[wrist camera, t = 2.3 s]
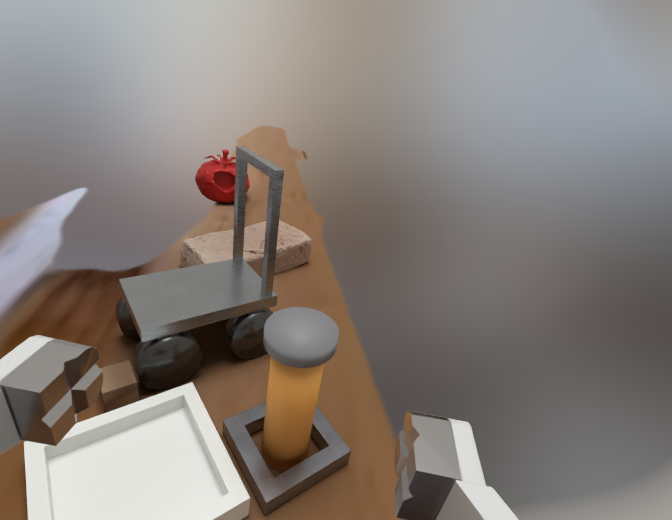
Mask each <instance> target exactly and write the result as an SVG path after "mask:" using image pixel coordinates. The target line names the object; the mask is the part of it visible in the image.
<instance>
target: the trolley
mask: <svg viewBox="0 0 672 520" xmlns="http://www.w3.org/2000/svg"><path fill="white" fill-rule="evenodd" d="M248 163H249V164H251V165H252V166H254V167H255V168H257V169H258V170H260V171H261V172H263V173H264V174H266V175H267V176H269V177H270V179H269V192H268V205H267V218H266V231H265V244H264V257H263V269H262V278H261V277H260V276H259V275H258V274H257V273H256V272H255V271H254V270H253V269H252V268H251V267H250V266H249V264H248V263H247V262H246V261H245V260H244V259H243V248H244V227H245V206H246V186H247V165H248ZM283 175H284V170H283V169H281V168H279V167H278V166H276V165H274V164H273V163H271V162H270V161H268V160H266V159H265V158H263V157H261V156H260V155H258V154H256V153H255V152H253V151H251V150H250V149H248V148H246V147H245V146H237V147H236V176H235V206H234V236H233V259H230V260H225V261H219V262H214V263H208V264H202V265H197V266H191V267H186V268H180V269H174V270H169V271H163V272H158V273H152V274H147V275H141V276H135V277H130V278H124V279H119V283H120V290H121V293H122V295H123V297H122V298H121V299H120V300H119V302H118V304H117V306H116V317H117V320H118V323H119V325H120V328H121V330H122V332H123V334H124V335H125V336H127V337H128V338H130V339H133V340H139V341H140V342H139V343H138V345H137V346H136V348H135V350H134V352H133V364H134V367H135V369H136V372H137V375H138V377H139V380H140V382H141V383H142V384H143V385H144V386H145V387H147V388H150V389H154V390H163V389H168V388H172V387H175V386H177V385H179V384H181V383H183V382H185V381H186V380H188V379H189V378H190V377H191V376H192V375H193V374H194V373H195V372H196V371H197V370H198V368H199V366H200V365H201V362H202V358H203V353H202V350H201V348H200V346H199V344H198V343H197V341H196V339H195V337H194V336H193V334H192V333H191V332H190V331H189V329H193V328H197V327H200V326H204V325H207V324H211V323H215V322H218V321H222V320H226V319H229V318H230V319H229V321H228V322H227V324H226V327H225V330H224V336H225V339H226V341H227V343H228V344H229V346H230V347H231V349H232V350H233V352H234V353H235V355H236V356H237V357H239V358H242V359H253V358H257V357H259V356H261V355H263V354H265V353H266V352H267V351H266V350H265V347H264V344H263V336H264V326H265V322H266V320H267V319H268V318H269V317H270V316H271V315H272V314H273V312H272V311H271V310H270V309H269V307H273V306H276V303H277V295H276V293H275V292H274V291H273V280H274V269H275V259H276V248H277V238H278V227H279V217H280V206H281V196H282V185H283Z"/></svg>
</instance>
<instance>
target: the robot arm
mask: <svg viewBox="0 0 672 520" xmlns="http://www.w3.org/2000/svg"><path fill="white" fill-rule="evenodd" d="M99 359H100V357H99V353H98V349H96V348H93V347H89V346H85V345H81V344H76V343H72V342H68V341H63V340H59V339H54V338H49V337H45V336H40V335H36V336H33V337H29V338H28V339H27V340H25V341H24V342H23V343H21V344H20V345H19V346H18V347H16V348H15V349H14V350H12V351H11V352H10V353H8V354H7V355H6V356H4V357H3V358H2V359H0V454H2V453H3V452H5V451H7V450H8V449H10V448H12V447H13V446H15V445H17V444H19V443H20V442H21V440H24V441H30V442H36V443H41V444H47V445H53V446H57V444H58V443H59V442H60V441H61V440H62V439H63V438H64V436H65V435H66V434H67V433H68V432H69V431H70V429H71V428H72V427H73V426H74V425H75V424H76V419H77V414H78V413H80V412H82V411H84V410H86V409H88V408H89V407H90V406H91V405H92V404H93V403H94V401H95V400H96V399H97V397H98V395H99V393H100V391H101V389H102V385H103V373H102V371H101V370H100V368H99V367H98V366H97V365H96V363H97V361H98V360H99ZM395 472H396V474H397V475H398V477H399V480H398V483H397V486H396V488H395V495H396V517H397V518H401V519H405V520H518V518H517V517H516V516H515V515H514V513H513V512H512V511H511V510H510V509H509V507H508V506H507V505H506V504H505V502H504V501H503V500H502V499H501V497H500V496H499V495H498V494H497V493H496V491H495V490H494V489H493V488H492V487H488V486H486V484H485V480H484V476H483V472H482V468H481V464H480V460H479V456H478V452H477V448H476V444H475V440H474V436H473V432H472V429H471V426H470V424H469V423H468V422H464V421H459V420H454V419H449V418H448V419H447V418H445V417H440V416H434V415H429V414H424V413H418V412H413V411H408V413H407V414H406V416H405V419H404V430H403V431H401V432H400V433H399V436H398V439H397V443H396V449H395Z"/></svg>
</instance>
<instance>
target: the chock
mask: <svg viewBox="0 0 672 520" xmlns="http://www.w3.org/2000/svg"><path fill="white" fill-rule="evenodd" d="M100 370H101V371H102V373H103V385H102V389H101V391H100V392H101V396H102V399H103V403H104V407H105V411H106V413H107V412H110V411H112V410H115V409H118V408H121V407H124V406H126V405H129V404H132V403H135V402H138V401H139V393H138V385H137V380H136V378H135V375H134V372H133V369H132V366H131V364H130V361H129V360H127V361H123V362H120V363H117V364H113V365H110V366H106V367H103V368H100Z"/></svg>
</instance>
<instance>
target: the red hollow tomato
mask: <svg viewBox="0 0 672 520" xmlns="http://www.w3.org/2000/svg"><path fill="white" fill-rule="evenodd" d="M228 154H229V151H228V150H223V158H222V157H221V156H220V155H217V156H220V158H221V159H220V161H219V160H217V159H216V158H215V157H213V156H209V157H206V158H210V157H212V158H213V159H214V160H212V161H210V162H205V163H204V164H202V165H201V168H199V169H198V172H197V174H196V178H195V180H196V183H197V186H198V188H199V190H200V191H201V193H202V194H203V195H204V196H205V197H207V198H208V199H210V200H212V201H216V202H220V203H231V202H234V201H235V176H236V163H231V161H232V160H233V159H236V158H235V157H231V158H230V159H228V158H227V155H228ZM249 185H250V184H249V179H248V174H247V186H246V193H247V191H248V189H249Z"/></svg>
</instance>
